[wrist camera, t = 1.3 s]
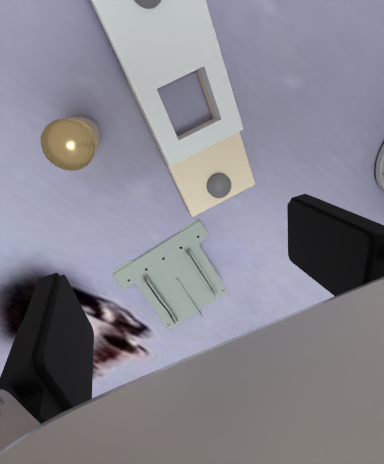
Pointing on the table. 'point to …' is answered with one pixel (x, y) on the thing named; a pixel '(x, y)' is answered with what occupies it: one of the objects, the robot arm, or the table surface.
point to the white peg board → (168, 70)
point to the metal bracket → (175, 276)
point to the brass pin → (70, 142)
